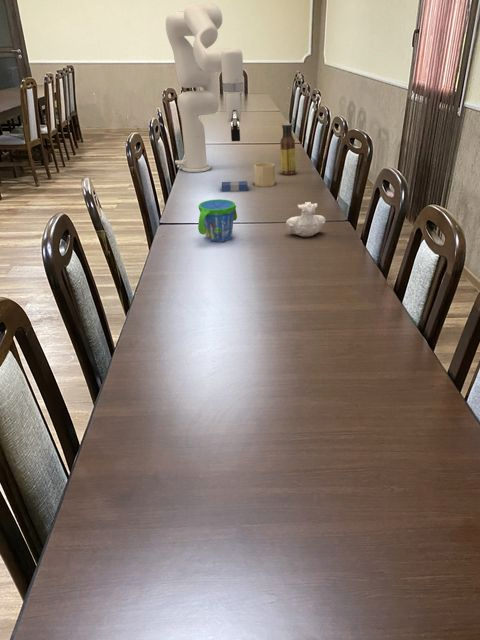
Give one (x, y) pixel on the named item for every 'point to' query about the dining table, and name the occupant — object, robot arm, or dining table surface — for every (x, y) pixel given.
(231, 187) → the block
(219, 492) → the dining table surface
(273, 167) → the beige cup
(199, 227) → the snack cup
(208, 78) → the robot arm
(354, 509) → the dining table surface
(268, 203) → the dining table surface
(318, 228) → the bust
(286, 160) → the sauce bottle
